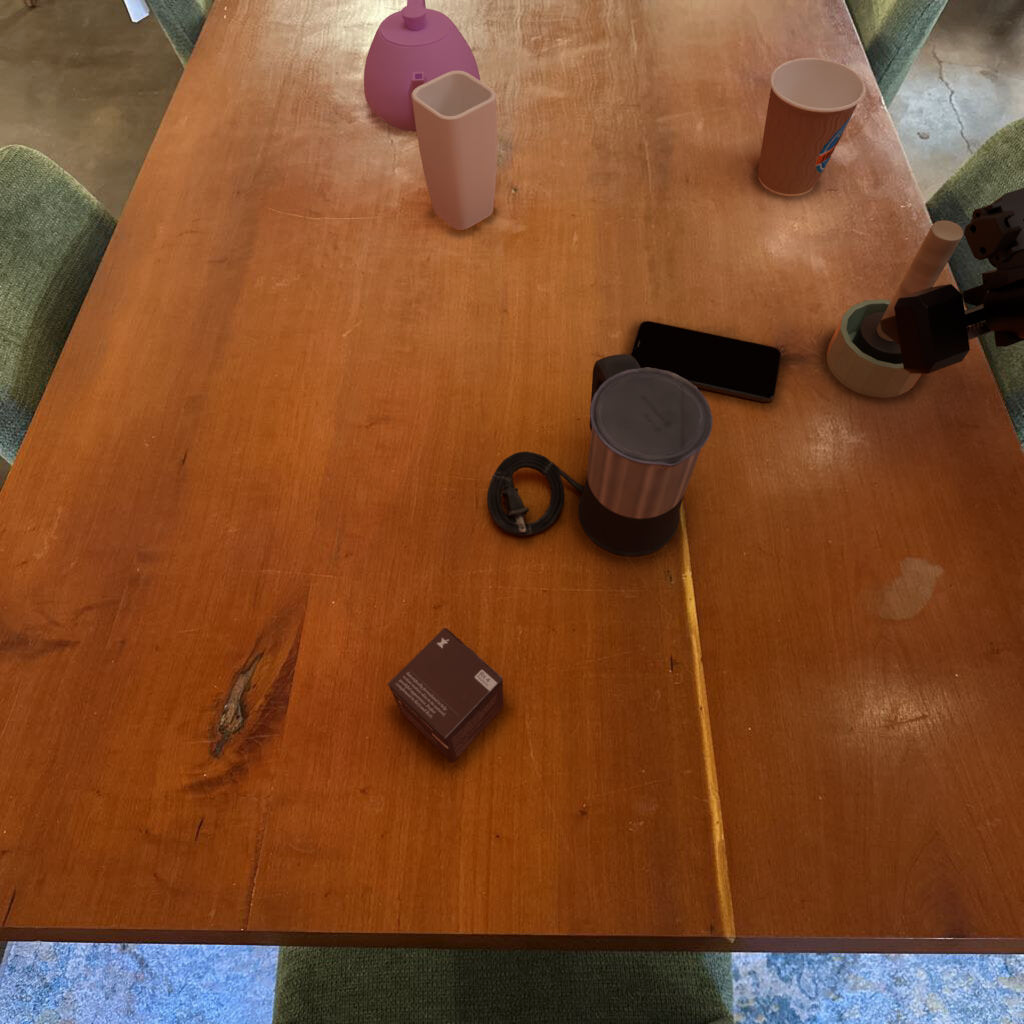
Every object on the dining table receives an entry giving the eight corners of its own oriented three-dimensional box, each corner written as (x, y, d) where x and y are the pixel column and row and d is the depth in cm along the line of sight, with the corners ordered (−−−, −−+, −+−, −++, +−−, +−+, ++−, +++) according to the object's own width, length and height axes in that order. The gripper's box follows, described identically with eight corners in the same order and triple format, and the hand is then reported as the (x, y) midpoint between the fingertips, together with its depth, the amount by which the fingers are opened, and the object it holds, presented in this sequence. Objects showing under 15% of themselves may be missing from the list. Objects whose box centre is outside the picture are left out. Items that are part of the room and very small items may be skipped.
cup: (421, 213, 92) (404, 92, 80) (468, 187, 95) (458, 66, 82) (459, 243, 89) (447, 122, 77) (506, 216, 92) (502, 94, 79)
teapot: (368, 64, 109) (352, -30, 99) (476, 57, 110) (471, -38, 100) (366, 158, 98) (347, 62, 88) (487, 149, 99) (482, 53, 88)
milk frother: (700, 527, 69) (739, 427, 56) (555, 614, 65) (562, 527, 52) (608, 423, 75) (624, 311, 63) (470, 496, 71) (458, 392, 58)
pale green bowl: (920, 342, 80) (940, 310, 76) (915, 407, 76) (936, 377, 72) (831, 323, 82) (846, 291, 78) (821, 386, 77) (836, 355, 73)
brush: (902, 385, 76) (984, 257, 63) (845, 375, 77) (913, 246, 63) (902, 345, 79) (980, 213, 65) (846, 335, 80) (912, 204, 66)
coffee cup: (820, 214, 91) (858, 117, 81) (735, 194, 93) (761, 98, 83) (835, 164, 96) (872, 67, 85) (754, 146, 98) (780, 50, 88)
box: (399, 712, 61) (384, 682, 54) (452, 659, 63) (444, 624, 57) (453, 765, 59) (444, 740, 52) (506, 708, 61) (504, 677, 54)
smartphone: (781, 353, 80) (639, 323, 82) (783, 347, 79) (641, 317, 81) (772, 406, 76) (624, 373, 78) (774, 401, 75) (625, 368, 78)
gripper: (1181, 147, 55) (994, 193, 69) (971, 216, 51) (821, 249, 66) (1190, 301, 58) (1009, 314, 72) (991, 377, 54) (844, 374, 69)
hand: (923, 310), depth 70 cm, fingers open, 9 cm apart
